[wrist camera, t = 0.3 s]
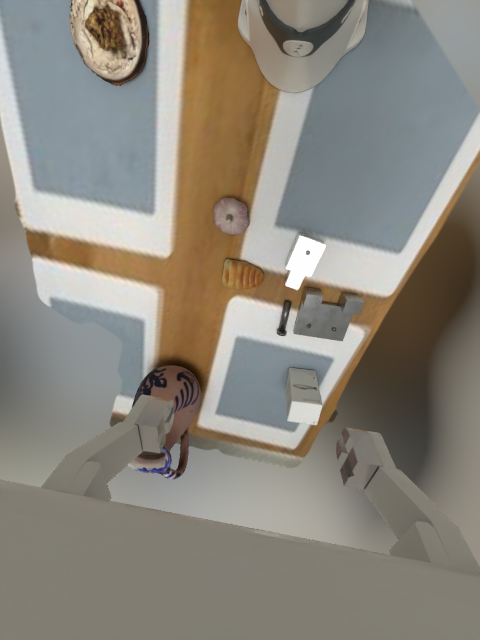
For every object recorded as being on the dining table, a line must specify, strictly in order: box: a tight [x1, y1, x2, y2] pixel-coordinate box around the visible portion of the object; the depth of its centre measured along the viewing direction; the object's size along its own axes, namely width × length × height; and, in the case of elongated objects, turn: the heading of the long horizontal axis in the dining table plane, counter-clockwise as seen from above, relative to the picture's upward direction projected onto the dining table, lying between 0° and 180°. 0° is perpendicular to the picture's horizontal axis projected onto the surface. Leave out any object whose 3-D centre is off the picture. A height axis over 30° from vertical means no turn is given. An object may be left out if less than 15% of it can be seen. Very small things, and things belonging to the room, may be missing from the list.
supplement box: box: [286, 367, 322, 425], centre depth 63 cm, size 7×7×13 cm
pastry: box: [222, 259, 264, 289], centre depth 54 cm, size 9×7×4 cm
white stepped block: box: [284, 233, 326, 290], centre depth 51 cm, size 10×6×4 cm, turn 162°
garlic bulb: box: [213, 197, 249, 235], centre depth 47 cm, size 8×7×8 cm
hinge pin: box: [277, 300, 292, 336], centre depth 59 cm, size 9×2×2 cm, turn 174°
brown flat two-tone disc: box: [69, 0, 149, 86], centre depth 38 cm, size 15×15×4 cm
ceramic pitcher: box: [127, 365, 201, 480], centre depth 64 cm, size 18×21×25 cm
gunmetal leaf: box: [293, 287, 364, 341], centre depth 56 cm, size 12×12×4 cm
